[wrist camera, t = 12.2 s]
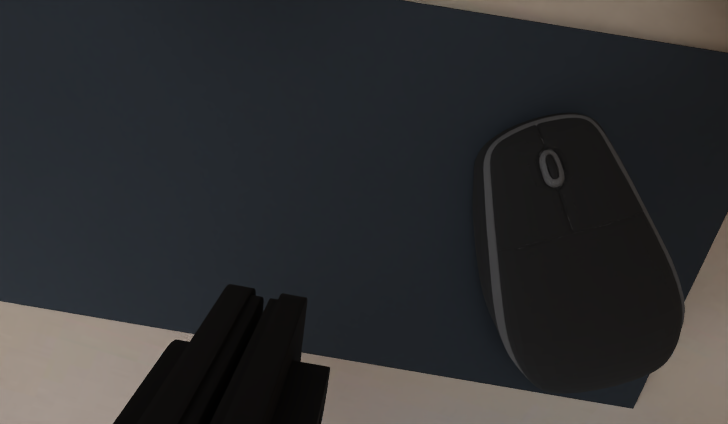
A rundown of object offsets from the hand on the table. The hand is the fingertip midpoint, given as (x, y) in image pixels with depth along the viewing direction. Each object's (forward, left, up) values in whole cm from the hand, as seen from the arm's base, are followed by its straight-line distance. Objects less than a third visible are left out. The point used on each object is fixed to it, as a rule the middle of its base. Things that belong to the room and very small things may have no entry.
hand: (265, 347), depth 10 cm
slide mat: (+1, -2, -11) cm, 11 cm away
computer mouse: (+1, +10, -11) cm, 15 cm away
